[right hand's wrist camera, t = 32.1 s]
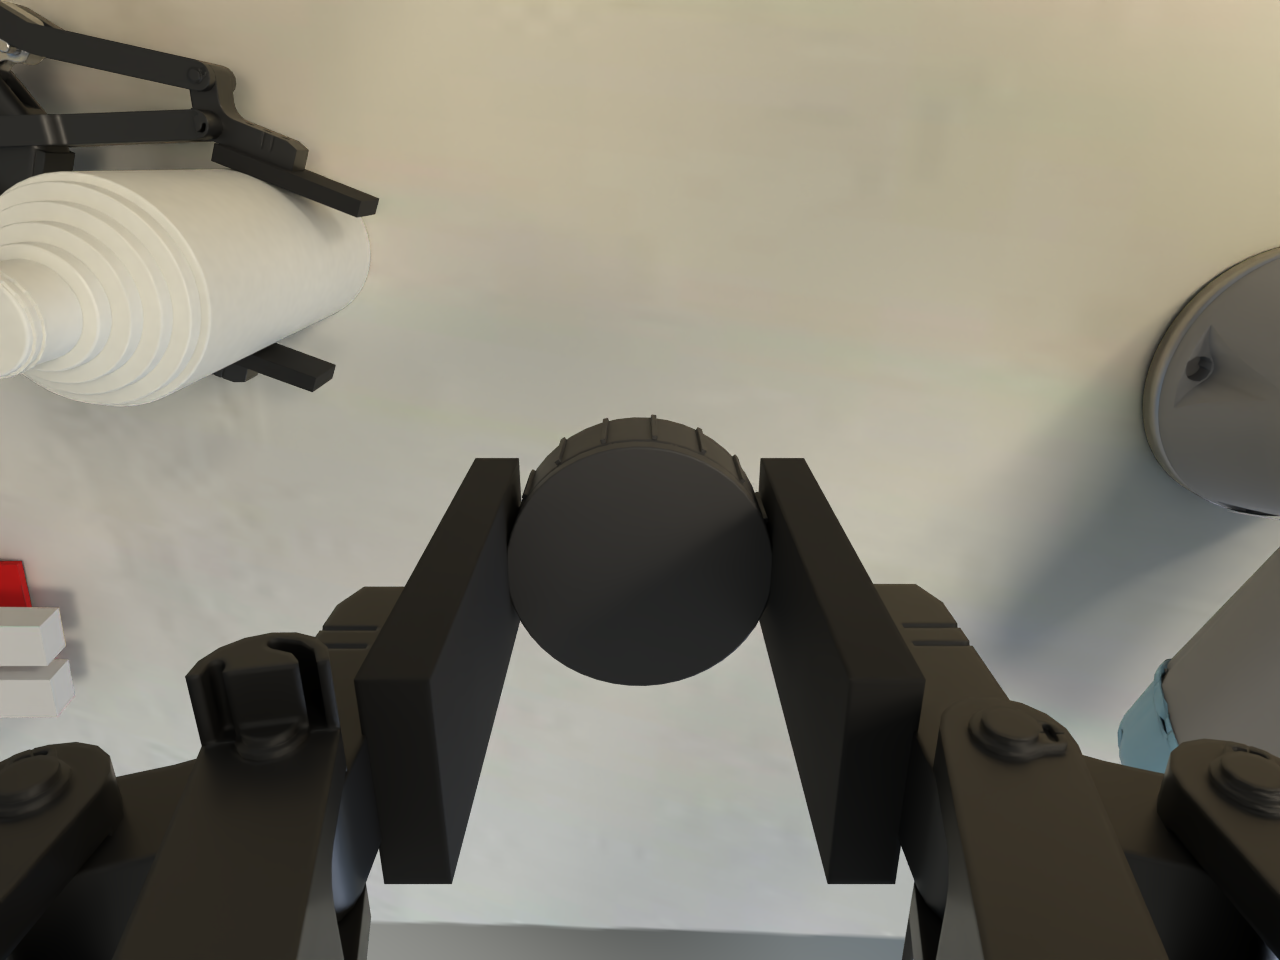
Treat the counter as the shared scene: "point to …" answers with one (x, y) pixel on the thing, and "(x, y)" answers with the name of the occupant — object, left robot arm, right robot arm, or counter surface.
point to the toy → (30, 652)
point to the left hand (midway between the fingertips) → (345, 295)
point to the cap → (639, 553)
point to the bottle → (162, 277)
